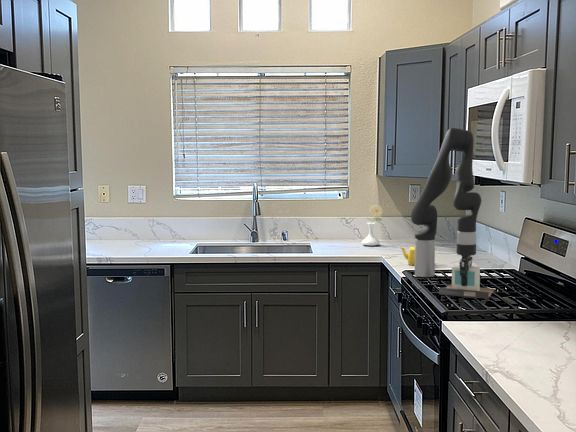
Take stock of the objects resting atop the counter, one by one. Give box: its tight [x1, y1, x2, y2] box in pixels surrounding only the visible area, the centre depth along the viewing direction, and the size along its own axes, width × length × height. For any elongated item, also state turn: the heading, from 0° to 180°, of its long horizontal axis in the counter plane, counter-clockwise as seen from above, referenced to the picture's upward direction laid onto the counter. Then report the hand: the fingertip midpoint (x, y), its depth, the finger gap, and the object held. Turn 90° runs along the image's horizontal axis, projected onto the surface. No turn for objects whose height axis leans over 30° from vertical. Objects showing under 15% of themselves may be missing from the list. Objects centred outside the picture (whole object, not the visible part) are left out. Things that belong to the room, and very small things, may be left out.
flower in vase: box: [361, 204, 384, 247], centre depth 379 cm, size 13×11×25 cm
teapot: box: [398, 246, 415, 267], centre depth 320 cm, size 15×14×10 cm
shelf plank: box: [438, 284, 496, 300], centre depth 253 cm, size 18×19×4 cm
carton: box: [451, 264, 481, 291], centre depth 248 cm, size 5×10×10 cm, turn 64°
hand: (465, 284), depth 249 cm, fingers closed on carton, 5 cm apart
